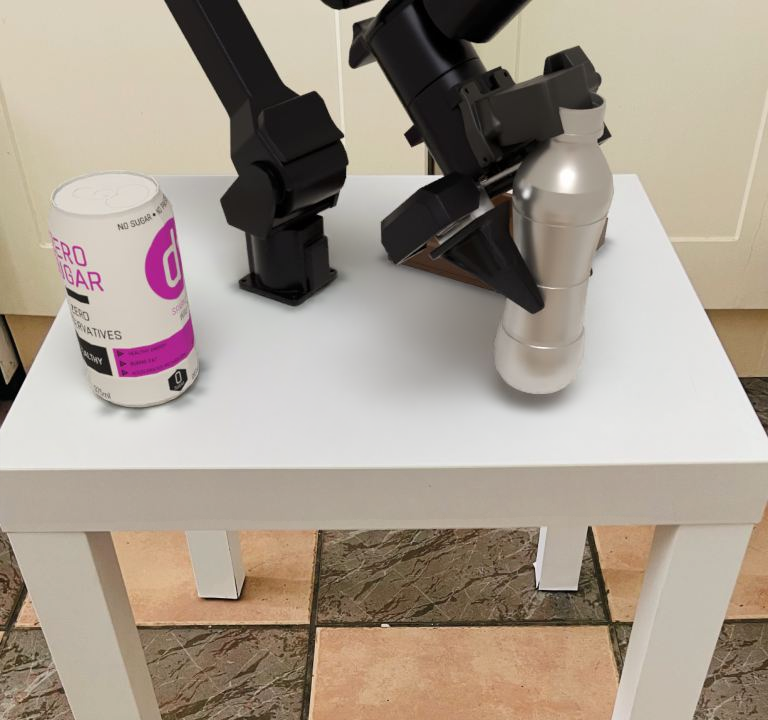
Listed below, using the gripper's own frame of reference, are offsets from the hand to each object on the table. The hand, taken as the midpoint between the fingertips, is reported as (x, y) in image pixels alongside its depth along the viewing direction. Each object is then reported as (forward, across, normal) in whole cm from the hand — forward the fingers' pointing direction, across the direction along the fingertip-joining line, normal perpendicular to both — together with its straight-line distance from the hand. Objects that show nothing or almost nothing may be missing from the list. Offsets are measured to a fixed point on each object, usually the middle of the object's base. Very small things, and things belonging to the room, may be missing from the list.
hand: (563, 294), depth 62 cm
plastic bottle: (+4, 0, +6) cm, 8 cm away
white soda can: (-11, -18, +24) cm, 32 cm away
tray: (-6, +17, +18) cm, 26 cm away
